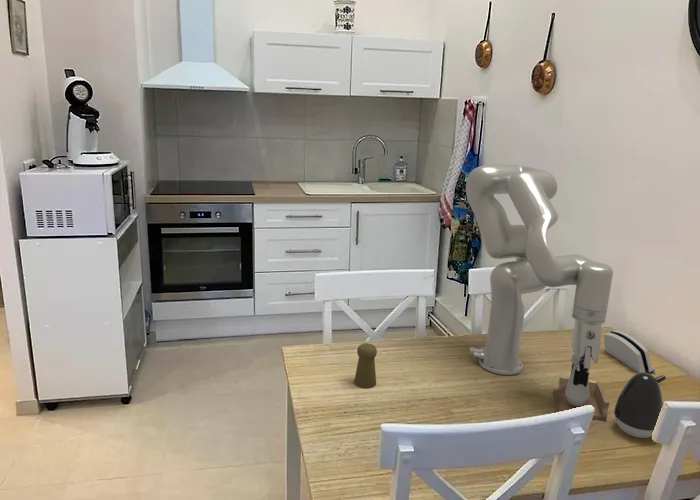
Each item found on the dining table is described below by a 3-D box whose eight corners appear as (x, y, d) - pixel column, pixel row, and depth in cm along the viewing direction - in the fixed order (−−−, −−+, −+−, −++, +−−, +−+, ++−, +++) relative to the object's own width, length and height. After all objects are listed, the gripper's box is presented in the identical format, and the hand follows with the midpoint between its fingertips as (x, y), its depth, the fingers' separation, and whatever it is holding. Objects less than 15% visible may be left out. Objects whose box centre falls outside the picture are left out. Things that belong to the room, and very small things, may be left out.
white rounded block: (656, 373, 159) (653, 345, 156) (642, 379, 159) (638, 350, 156) (618, 349, 175) (613, 322, 172) (605, 354, 174) (600, 328, 171)
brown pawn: (379, 380, 147) (382, 343, 145) (371, 390, 142) (373, 352, 139) (359, 375, 150) (361, 338, 147) (350, 385, 144) (352, 347, 142)
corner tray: (558, 413, 135) (561, 395, 134) (553, 392, 146) (556, 375, 144) (605, 421, 133) (609, 402, 132) (597, 399, 143) (600, 381, 142)
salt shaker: (589, 410, 134) (595, 361, 131) (564, 406, 136) (569, 358, 133) (587, 399, 139) (593, 352, 136) (563, 395, 141) (568, 348, 138)
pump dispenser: (670, 442, 125) (683, 382, 122) (631, 446, 123) (643, 385, 119) (638, 418, 135) (650, 362, 131) (602, 421, 133) (612, 364, 129)
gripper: (613, 327, 123) (601, 400, 127) (598, 304, 139) (588, 369, 143) (578, 323, 125) (567, 395, 129) (567, 300, 140) (558, 365, 145)
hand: (578, 381), depth 136 cm, fingers closed on salt shaker, 3 cm apart
